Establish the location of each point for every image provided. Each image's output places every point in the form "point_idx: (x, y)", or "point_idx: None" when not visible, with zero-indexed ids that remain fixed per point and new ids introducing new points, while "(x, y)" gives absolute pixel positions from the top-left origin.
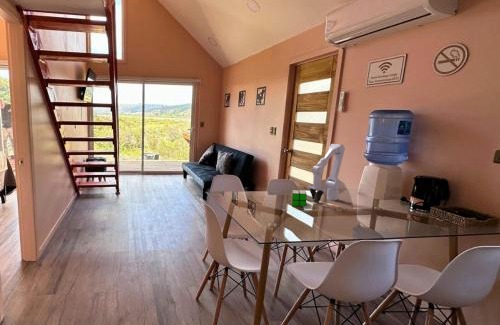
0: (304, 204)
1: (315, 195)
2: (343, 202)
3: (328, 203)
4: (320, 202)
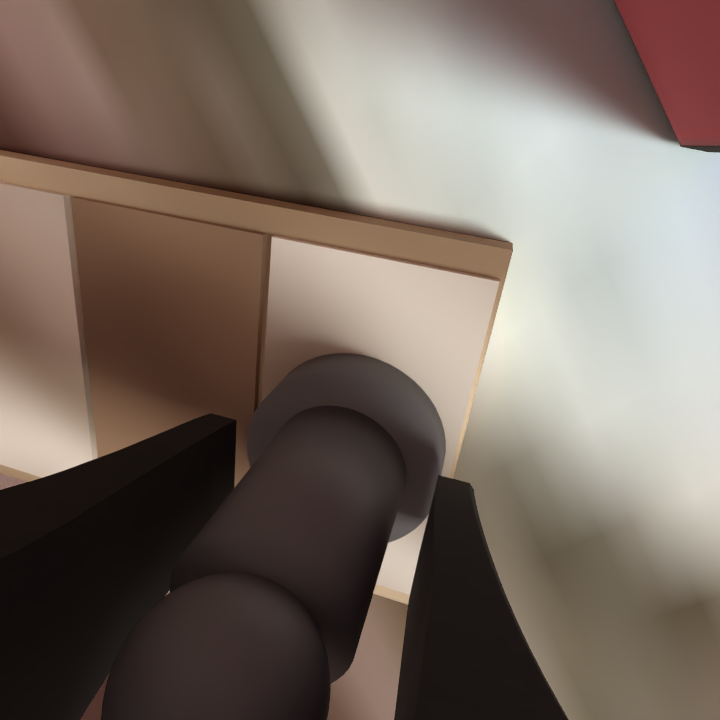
0: None
1: (279, 579)
2: None
3: None
4: (247, 464)
